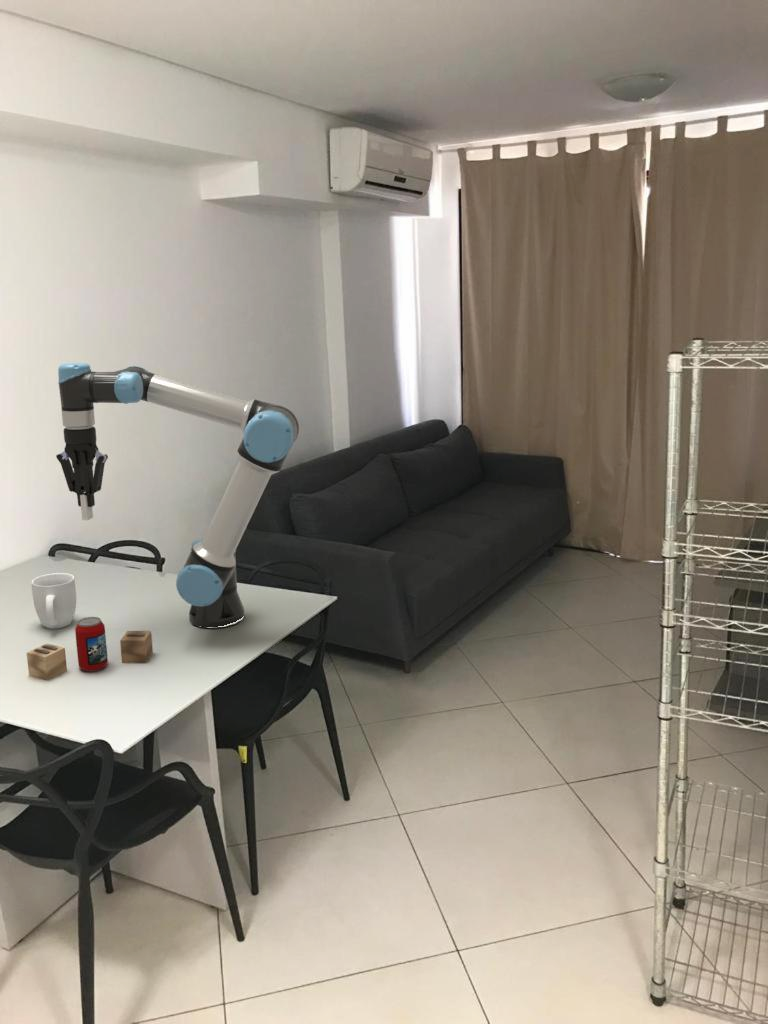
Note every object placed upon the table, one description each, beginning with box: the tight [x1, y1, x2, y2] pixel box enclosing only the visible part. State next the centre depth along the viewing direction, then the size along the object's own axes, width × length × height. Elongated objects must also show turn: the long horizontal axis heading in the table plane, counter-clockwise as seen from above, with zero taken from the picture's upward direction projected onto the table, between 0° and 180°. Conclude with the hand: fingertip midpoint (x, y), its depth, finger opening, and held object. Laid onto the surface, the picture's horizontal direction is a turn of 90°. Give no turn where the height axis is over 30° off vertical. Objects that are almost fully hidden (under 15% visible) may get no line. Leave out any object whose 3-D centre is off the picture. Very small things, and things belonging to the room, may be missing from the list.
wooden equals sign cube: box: [26, 642, 68, 682], centre depth 199 cm, size 6×6×6 cm
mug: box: [31, 572, 77, 630], centre depth 225 cm, size 15×11×13 cm
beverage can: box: [74, 616, 109, 672], centre depth 201 cm, size 7×7×12 cm
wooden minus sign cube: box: [119, 630, 154, 664], centre depth 207 cm, size 6×6×6 cm
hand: (87, 518), depth 212 cm, fingers closed
